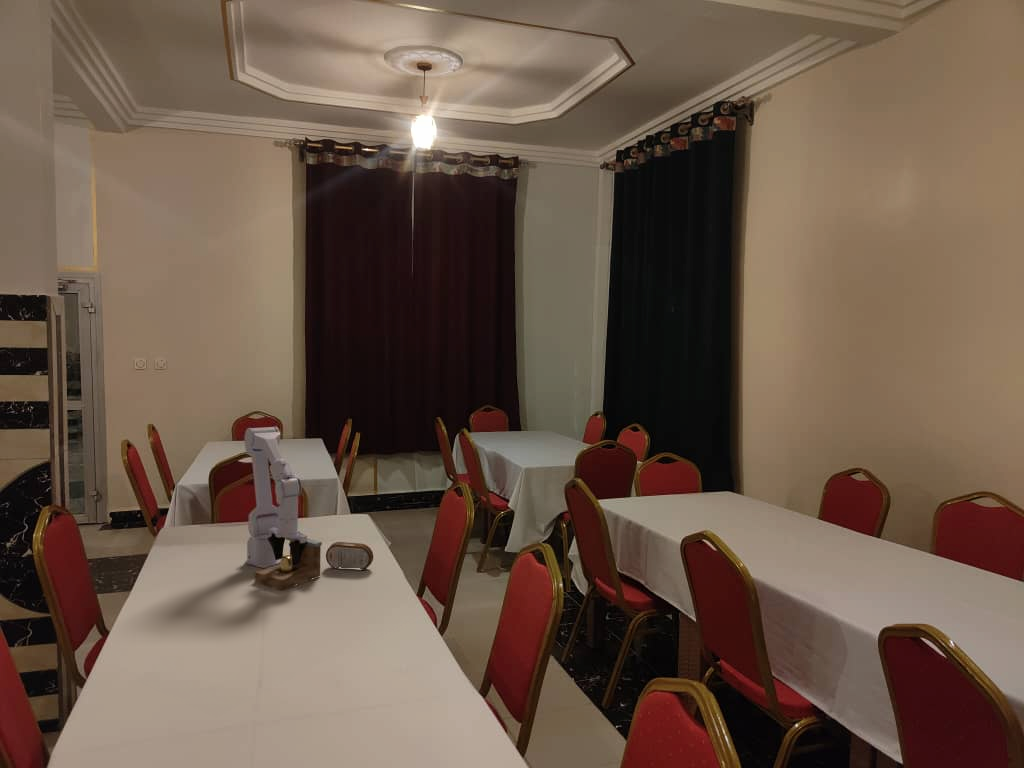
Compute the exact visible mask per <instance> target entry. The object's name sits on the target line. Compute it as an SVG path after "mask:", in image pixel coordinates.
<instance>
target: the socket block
mask: <svg viewBox="0 0 1024 768" xmlns="http://www.w3.org/2000/svg"><path fill="white" fill-rule="evenodd" d="M286 540H287V541H289V543H291V542H294V540H291V539H287V538H286V539H285V541H286ZM307 541H308V543H307V545H306V547H305V548H304V550H303V553H302V556H301V559H300V563H299V564H297V565H293V572H290V573H288V574H285V573H282V572H281V563H279V564H276V565H273V566H270V567H267V568H262V569H260V570H256V571H255V572H254V582H255V583H257V582H258V584H260V583H261V584H260V585H264V586H267V587H270V588H273V589H276V588H277V589H276V590H279V589H281V590H280V591H284V589H285V590H287V589H286V588H288V589H290V588H292V587H291V586H293V587H295V586H294V585H296V584H299V583H301V582H304V583H306V582H305V581H307V580H310V579H312V578H315V577H318V576H320V577H321V549H322V548H321V546H322V545H323V542H322V541H319V540H316V539H311V538H308V537H307ZM289 555H291V556H292V553H291V549H290V548H289ZM318 578H319V577H318ZM315 579H316V578H315ZM312 580H313V579H312ZM310 581H311V580H310ZM307 582H308V581H307ZM301 584H302V583H301ZM299 585H300V584H299ZM296 586H297V585H296ZM289 587H290V588H289Z"/></svg>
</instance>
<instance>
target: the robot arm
mask: <svg viewBox="0 0 1024 768" xmlns="http://www.w3.org/2000/svg"><path fill="white" fill-rule="evenodd" d="M243 440H244V447H245V453H246V455H248V456H250V457H251V458H250V459H251V463H252V471H253V474H252V475H253V485H254V492H255V493H254V494H255V502H256V507H254V509H252V510H251V512H250V513H249V514H248V527H247V528H248V533H249V535H250V536H249V538H248V539H247V543H246V545H247V546H246V553H247V554H246V560H245V561H244V563H245V564H248V565H251V566H256V567H258V568H261V569H266V568H269V567H272V566H275V565H278V564H281V557H282V556H284V548H285V547H284V546H285V541H286V538H287V539H291V540H294V542H291V543H290V542H289V543H288V546H289V550H290V549H291V553H292V564H293V565H297V564H299V563H300V559H301V556H302V553H303V550H304V548H305V547H306V545H307V543H308V541H307V538H308V535H306V534H305V533H302V532H300V531H299V530H298V529H299V528H298V527H299V526H298V524H299V521H298V520H299V519H298V518H299V497H300V496H301V495H302V491H303V490H302V488H303V487H302V486H303V485H302V482H301V479H300V477H299V476H297V475H295V474H294V473H293V471H292V468H291V466H290V463H289V462H288V461H287V460H285V459H283V456H282V453H281V452H282V451H281V448H280V442H281V431H280V429H279V428H278V426H276V425H275V426H269V427H253V428H251V427H248V428H247V429H246V430H245V433H244V439H243ZM269 463H270V464H271V465H269ZM270 473H271V476H272V479H273V481H274V483H275V484H274V485H275V487H274V492H275V497H276V503H277V506H278V507H277V506H275V505H273V495H272V489H271V487H272V486H271V477H270Z"/></svg>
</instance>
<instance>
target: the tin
mask: <svg viewBox="0 0 1024 768" xmlns="http://www.w3.org/2000/svg"><path fill="white" fill-rule="evenodd" d="M325 558H326V559H325V560H326V562H327V564H328V565H329V566H330V567H331V568H333V567H336V568H339V567H341V568H360V569H364V570H366V569H367V568H369V567H370V566H371V564H373V560H374V553H373V550H372V548H371V547H370V546H368V545H367V544H365V543H360V542H359V543H357V542H345V541H337V542H334V543H332V544H331V545H330V546H329V547H328V548H327V550H326V552H325Z"/></svg>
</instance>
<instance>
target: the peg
mask: <svg viewBox="0 0 1024 768" xmlns="http://www.w3.org/2000/svg"><path fill="white" fill-rule="evenodd" d="M280 560H281V563H280V564H281V572H282V573H285V574H288V573H290V572H293V564H292V556H291V555H290V554H288V555H283V556H282V557H281V559H280Z"/></svg>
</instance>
